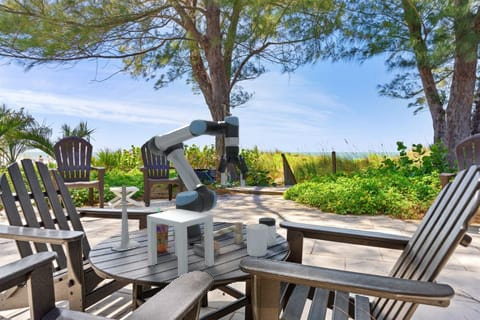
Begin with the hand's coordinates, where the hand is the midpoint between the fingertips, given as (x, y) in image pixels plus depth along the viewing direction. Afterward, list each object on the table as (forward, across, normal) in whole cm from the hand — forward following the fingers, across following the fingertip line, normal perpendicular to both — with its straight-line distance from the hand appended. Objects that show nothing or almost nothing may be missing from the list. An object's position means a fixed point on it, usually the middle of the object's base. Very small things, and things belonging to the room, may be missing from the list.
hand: (232, 185), depth 160 cm
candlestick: (+27, -29, -46) cm, 61 cm away
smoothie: (+27, -10, -40) cm, 49 cm away
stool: (+27, +10, -45) cm, 53 cm away
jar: (+27, +23, -2) cm, 35 cm away
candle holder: (+27, +27, -16) cm, 41 cm away
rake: (+27, +11, -20) cm, 35 cm away
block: (+27, +11, -28) cm, 40 cm away
